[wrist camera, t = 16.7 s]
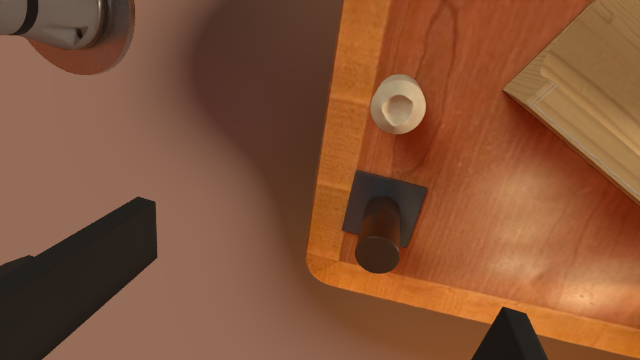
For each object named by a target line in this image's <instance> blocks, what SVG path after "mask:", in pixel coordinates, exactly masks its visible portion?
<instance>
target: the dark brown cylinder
mask: <svg viewBox="0 0 640 360" xmlns="http://www.w3.org/2000/svg"><path fill="white" fill-rule="evenodd" d="M355 257H356V260H357V262H358V263H359V265H360V266H361V267H362V268H364V269H365V270H367V271H369V272H372V273H377V274H381V273H387V272H389V271H391V270H393V269H394V268H395V267H396V266H397V264H398V262H399V257H400V209H399V206H398V204H397V203H396V202H395V201H394V200H393V199H392V198H390V197H387V196H376V197H374V198H372V199H370V200H369V201H368V202H367V204H366V206H365V210H364V214H363V219H362V223H361V228H360V232H359V236H358V241H357V245H356V250H355Z"/></svg>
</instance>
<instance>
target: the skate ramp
mask: <svg viewBox="0 0 640 360" xmlns="http://www.w3.org/2000/svg"><path fill="white" fill-rule="evenodd" d="M502 90H503V91H505V92H506V93H507V94H508V95H509V96H510V97H512V98H513V99H514V100H515V101H516V102H518V103H519V104H520V105H521V106H522V107H523V108H525V109H526V110H527V111H528V112H529V113H530V114H532V115H533V116H534V117H535V118H536V119H537V120H539V121H540V122H541V123H542V124H543V125H544V126H546V127H547V128H548V129H549V130H550V131H551V132H553V133H554V134H555V135H556V136H557V137H558V138H560V139H561V140H562V141H563V142H564V143H565V144H567V145H568V146H569V147H570V148H571V149H573V150H574V151H575V152H576V153H577V154H578V155H580V156H581V157H582V158H583V159H584V160H585V161H587V162H588V163H589V164H590V165H591V166H592V167H594V168H595V169H596V170H597V171H598V172H599V173H601V174H602V175H603V176H604V177H605V178H606V179H608V180H609V181H610V182H611V183H612V184H613V185H615V186H616V187H617V188H618V189H619V190H620V191H622V192H623V193H624V194H625V195H626V196H628V197H629V198H630V199H631V200H632V201H633V202H635V203H636V204H637V205H638V206H639V207H640V202H639V201H640V0H594V1H593V2H592V3H591V4H590V5H589V6H588V7H587V8H586V9H585V10H584V11H583V12H582V13H581V14H580V15H579V16H578V17H577V18H575V19H574V20H573V21H572V22H571V23H570V24H569V25H568V26H567V27H566V28H565V29H564V30H563V31H562V32H561V33H560V34H559V35H558V36H557V37H556V38H555V39H554V40H553V41H552V42H551V43H550V44H549V45H548V46H547V47H546V48H545V49H544V50H543V51H542V52H541V53H540V54H538V55H537V56H536V57H535V58H534V59H533V60H532V61H531V62H530V63H529V64H528V65H527V66H526V67H525V68H524V69H523V70H522V71H521V72H520V73H519V74H518V75H517V76H516V77H515V78H514V79H513V80H512V81H510V82H509V83H508V84H507V85H506V86H505V87H504V88H503V89H502ZM524 103H525V104H526V105H525V104H524ZM529 107H530V108H531V109H532V110H533V111H532V110H531V109H530V108H529ZM535 112H536V113H537V114H538V115H539V116H540V117H539V116H538V115H537V114H536V113H535ZM542 118H543V119H544V120H545V121H546V122H547V123H546V122H545V121H544V120H543V119H542ZM549 124H550V125H551V126H552V127H553V128H554V129H553V128H552V127H551V126H550V125H549ZM556 130H557V131H558V132H559V133H560V134H559V133H558V132H557V131H556ZM563 136H564V137H565V138H566V139H567V140H566V139H565V138H564V137H563ZM570 142H571V143H572V144H573V145H574V146H573V145H572V144H571V143H570ZM577 148H578V149H579V150H580V151H581V152H580V151H579V150H578V149H577ZM584 154H585V155H586V156H587V157H588V158H587V157H586V156H585V155H584ZM591 160H592V161H593V162H594V163H595V164H594V163H593V162H592V161H591ZM598 166H599V167H600V168H601V169H602V170H601V169H600V168H599V167H598ZM605 172H606V173H607V174H608V175H609V176H608V175H607V174H606V173H605ZM612 178H613V179H614V180H615V181H616V182H615V181H614V180H613V179H612ZM619 184H620V185H621V186H622V187H623V188H622V187H621V186H620V185H619ZM626 190H627V191H628V192H629V193H630V194H629V193H628V192H627V191H626ZM633 196H634V197H635V198H636V199H637V200H636V199H635V198H634V197H633Z"/></svg>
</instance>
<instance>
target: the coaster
mask: <svg viewBox="0 0 640 360" xmlns="http://www.w3.org/2000/svg"><path fill="white" fill-rule="evenodd" d="M426 191H427V187H423V186H419V185H415V184H411V183H407V182H403V181H399V180H395V179H391V178H387V177H383V176H379V175H375V174H371V173H367V172H363V171H359V170H356V172H355V177H354V181H353V185H352V189H351V193H350V197H349V202H348V206H347V210H346V214H345V218H344V223H343V227H342V230H343V231H347V232H351V233H354V234H358V235H359V232H360V228H361V223H362V219H363V214H364V210H365V206H366V204H367V202H368V201H369V200H370V199H372V198H374V197H376V196H387V197H390V198H392V199H393V200H394V201H395V202H396V203H397V204H398V206H399V209H400V246H401V247H404V248H407V246H408V243H409V240H410V237H411V234H412V231H413V228H414V226H415V223H416V220H417V217H418V214H419V211H420V208H421V206H422V203H423V200H424V197H425V194H426Z"/></svg>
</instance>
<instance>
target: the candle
mask: <svg viewBox="0 0 640 360" xmlns="http://www.w3.org/2000/svg"><path fill="white" fill-rule="evenodd" d="M425 109H426V103H425V98H424V95H423V93H422V91H421V89H420V87H419V85H418V83H417V82H416V81H415V80H414V79H413V78H412V77H410V76H408V75H404V74H396V75H392V76H390V77H388V78H386V79H385V80H384V81H383V82H382V83H381V84H380V86H379V87H378V89H377V91H376V93H375V94H374V96H373V99H372V102H371V116H372V119H373V121H374V122H375V124H376V125H377V126H378V127H379V128H380V129H381V130H383V131H385V132H387V133H390V134H404V133H407V132H409V131H411V130H413V129H414V128H415V127H417V126H418V125H419V123H420V122H421V120H422V119H423V117H424V114H425Z"/></svg>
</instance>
